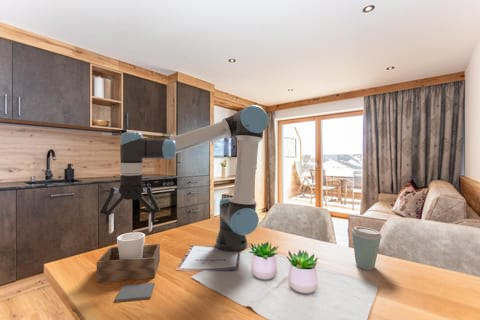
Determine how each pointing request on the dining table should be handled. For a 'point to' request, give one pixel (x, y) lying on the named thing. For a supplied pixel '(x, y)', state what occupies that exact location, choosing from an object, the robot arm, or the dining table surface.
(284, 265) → the dining table surface
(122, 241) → the foam cup
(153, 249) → the crate
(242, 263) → the dining table surface
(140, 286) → the mat
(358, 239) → the disposable coffee cup
